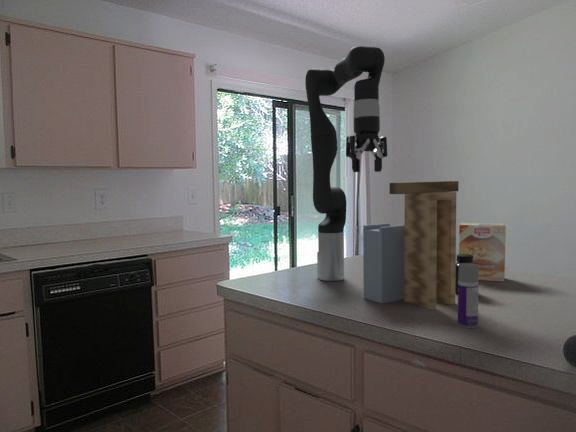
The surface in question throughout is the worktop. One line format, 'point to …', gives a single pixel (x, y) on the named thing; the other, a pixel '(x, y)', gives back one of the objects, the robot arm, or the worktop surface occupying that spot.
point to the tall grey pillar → (383, 262)
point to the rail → (423, 187)
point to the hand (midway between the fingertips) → (367, 171)
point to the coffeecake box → (484, 248)
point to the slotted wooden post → (430, 248)
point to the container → (468, 295)
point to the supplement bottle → (460, 259)
